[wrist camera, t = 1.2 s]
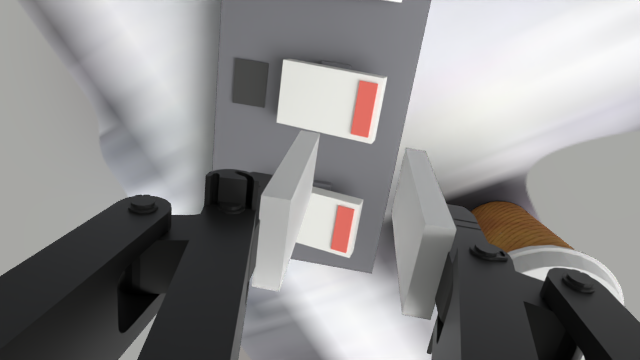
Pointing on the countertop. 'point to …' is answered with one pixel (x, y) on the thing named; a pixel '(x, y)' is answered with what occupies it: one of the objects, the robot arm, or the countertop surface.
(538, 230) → the disposable coffee cup
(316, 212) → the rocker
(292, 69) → the rocker middle
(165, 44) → the countertop surface
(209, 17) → the countertop surface
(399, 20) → the power strip
